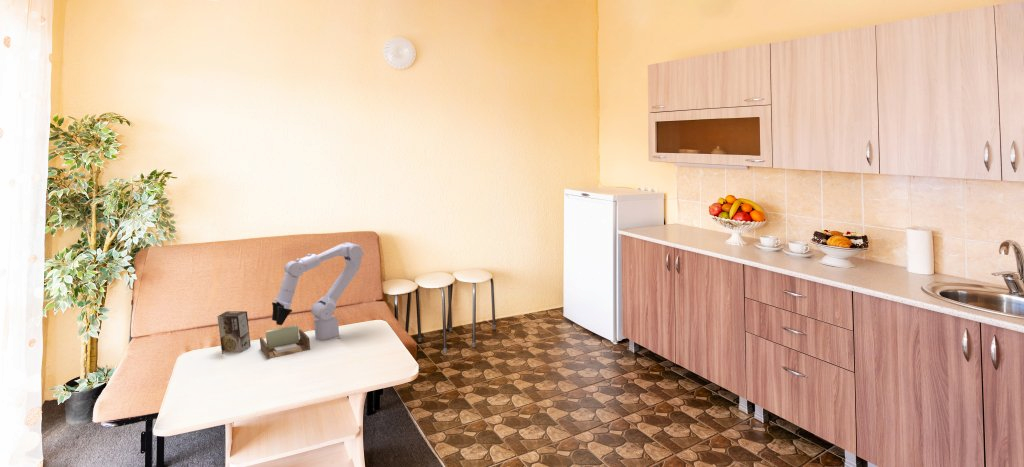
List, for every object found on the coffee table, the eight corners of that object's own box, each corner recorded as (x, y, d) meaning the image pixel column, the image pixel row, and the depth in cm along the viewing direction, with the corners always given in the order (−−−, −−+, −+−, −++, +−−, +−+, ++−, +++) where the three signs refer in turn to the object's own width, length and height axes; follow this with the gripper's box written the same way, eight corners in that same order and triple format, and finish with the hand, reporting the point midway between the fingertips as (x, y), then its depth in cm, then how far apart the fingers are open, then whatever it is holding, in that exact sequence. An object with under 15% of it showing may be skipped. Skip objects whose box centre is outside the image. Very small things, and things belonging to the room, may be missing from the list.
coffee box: (251, 348, 219) (248, 311, 216) (242, 354, 212) (238, 316, 210) (230, 348, 220) (226, 310, 217) (221, 354, 213) (216, 315, 211)
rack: (301, 342, 225) (300, 329, 224) (310, 351, 214) (309, 337, 213) (261, 351, 215) (259, 337, 214) (267, 361, 205) (266, 346, 204)
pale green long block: (298, 343, 221) (296, 324, 220) (299, 344, 220) (297, 326, 218) (267, 349, 214) (265, 330, 213) (268, 351, 213) (266, 332, 211)
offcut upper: (295, 346, 215) (295, 343, 214) (297, 348, 212) (297, 345, 212) (274, 350, 210) (274, 347, 210) (276, 353, 207) (276, 350, 207)
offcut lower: (299, 347, 216) (299, 345, 216) (302, 350, 213) (301, 348, 212) (273, 353, 210) (272, 350, 210) (275, 356, 207) (275, 353, 207)
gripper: (273, 285, 219) (262, 317, 218) (281, 291, 208) (270, 324, 206) (290, 288, 224) (280, 320, 222) (299, 294, 212) (288, 328, 211)
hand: (276, 322), depth 215 cm, fingers open, 7 cm apart
